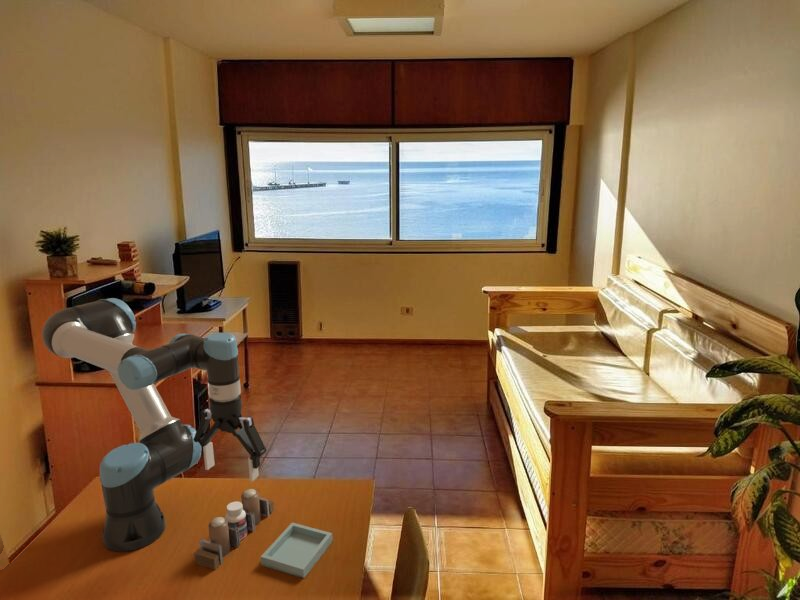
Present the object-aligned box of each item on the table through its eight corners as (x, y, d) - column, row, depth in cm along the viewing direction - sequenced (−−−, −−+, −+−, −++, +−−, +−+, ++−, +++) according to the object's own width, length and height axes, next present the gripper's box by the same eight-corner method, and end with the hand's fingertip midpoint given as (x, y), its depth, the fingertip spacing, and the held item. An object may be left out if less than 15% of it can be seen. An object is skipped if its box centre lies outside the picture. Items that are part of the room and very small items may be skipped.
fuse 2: (239, 523, 156) (237, 495, 153) (250, 514, 160) (247, 486, 158) (254, 527, 154) (251, 499, 152) (264, 517, 158) (261, 489, 156)
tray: (261, 565, 140) (260, 556, 140) (292, 530, 153) (292, 522, 152) (304, 578, 136) (303, 569, 135) (332, 541, 148) (332, 533, 148)
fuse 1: (207, 554, 144) (204, 524, 142) (219, 543, 148) (216, 513, 146) (222, 559, 142) (219, 528, 140) (234, 547, 147) (231, 517, 144)
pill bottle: (241, 543, 148) (238, 513, 146) (223, 540, 149) (220, 511, 147) (251, 530, 153) (248, 501, 151) (232, 527, 154) (229, 498, 152)
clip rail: (195, 563, 141) (193, 546, 140) (256, 506, 163) (254, 490, 162) (215, 569, 139) (213, 552, 138) (273, 510, 161) (272, 495, 160)
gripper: (173, 393, 142) (182, 470, 147) (259, 411, 133) (264, 491, 139) (194, 382, 148) (202, 455, 154) (277, 398, 140) (282, 475, 145)
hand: (231, 472), depth 146 cm, fingers open, 13 cm apart
